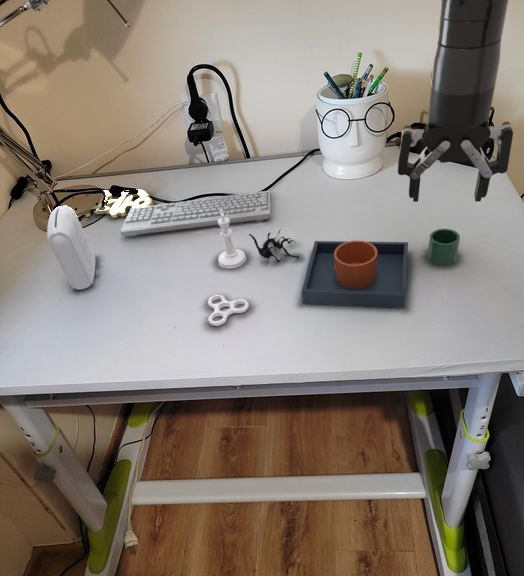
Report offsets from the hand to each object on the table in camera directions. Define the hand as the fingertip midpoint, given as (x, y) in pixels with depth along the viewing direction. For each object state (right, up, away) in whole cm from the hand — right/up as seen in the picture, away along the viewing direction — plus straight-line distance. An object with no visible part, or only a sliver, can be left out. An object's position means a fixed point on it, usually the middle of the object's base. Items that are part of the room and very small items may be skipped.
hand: (446, 198), depth 74 cm
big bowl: (-12, -10, +7) cm, 17 cm away
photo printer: (-59, -8, +19) cm, 63 cm away
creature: (-24, -5, +15) cm, 29 cm away
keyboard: (-40, +5, +27) cm, 48 cm away
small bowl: (+2, -7, +8) cm, 11 cm away
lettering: (-62, +9, +36) cm, 72 cm away
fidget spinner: (-32, -16, +6) cm, 36 cm away
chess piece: (-32, -6, +15) cm, 36 cm away
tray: (-12, -11, +7) cm, 17 cm away
